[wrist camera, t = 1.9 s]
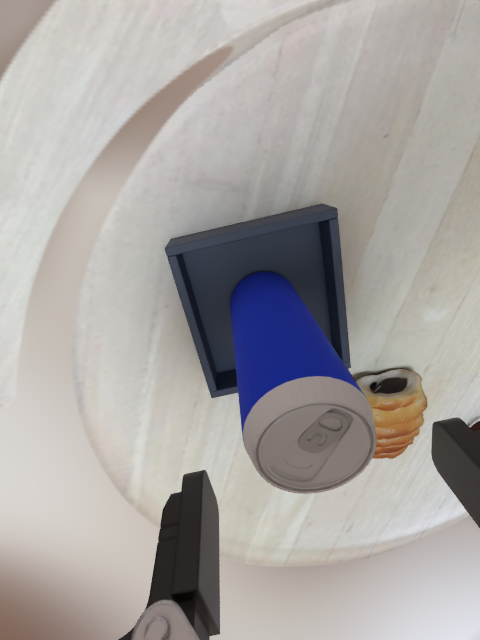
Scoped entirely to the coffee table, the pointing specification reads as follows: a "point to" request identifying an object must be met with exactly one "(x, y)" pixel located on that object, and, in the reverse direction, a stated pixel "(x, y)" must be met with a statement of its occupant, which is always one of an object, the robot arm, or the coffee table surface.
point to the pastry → (394, 409)
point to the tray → (252, 257)
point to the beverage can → (295, 392)
